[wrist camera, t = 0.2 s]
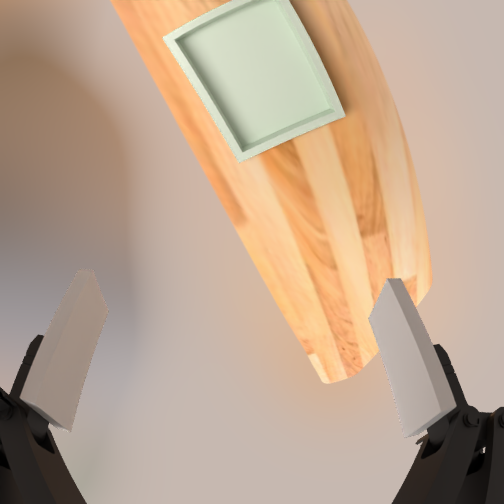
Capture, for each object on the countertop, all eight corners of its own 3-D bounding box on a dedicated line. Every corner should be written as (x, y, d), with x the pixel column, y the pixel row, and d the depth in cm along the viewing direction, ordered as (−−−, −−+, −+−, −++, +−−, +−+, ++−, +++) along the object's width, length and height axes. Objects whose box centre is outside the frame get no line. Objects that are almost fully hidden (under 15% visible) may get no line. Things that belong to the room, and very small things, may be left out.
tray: (168, 39, 27) (162, 37, 24) (275, -12, 23) (277, -18, 20) (239, 155, 36) (239, 163, 34) (338, 111, 33) (345, 116, 30)
